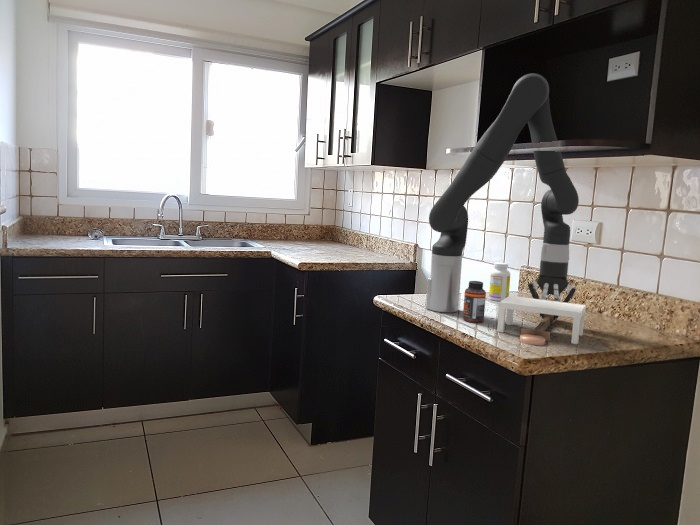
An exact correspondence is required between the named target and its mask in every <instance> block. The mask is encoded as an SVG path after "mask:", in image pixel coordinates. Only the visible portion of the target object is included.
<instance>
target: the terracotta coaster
mask: <svg viewBox="0 0 700 525" xmlns="http://www.w3.org/2000/svg"><path fill="white" fill-rule="evenodd" d="M519 341H520V343H523V344H526V345H530V346H544V345H545V344H546V341H545V338H544V337H542V336H538V335H532V334H523V335H521V334H520V335H519Z"/></svg>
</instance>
